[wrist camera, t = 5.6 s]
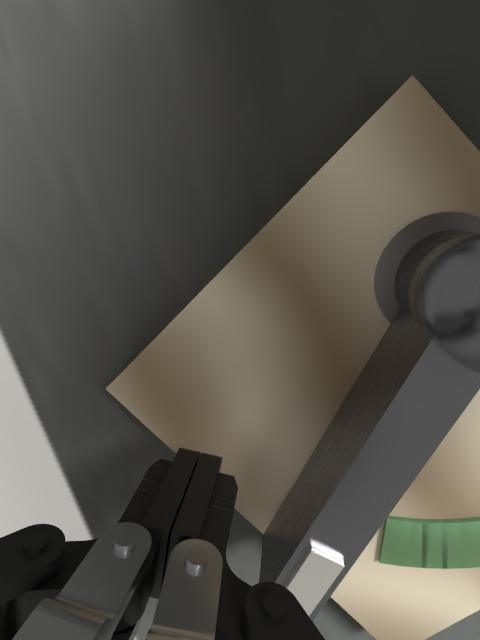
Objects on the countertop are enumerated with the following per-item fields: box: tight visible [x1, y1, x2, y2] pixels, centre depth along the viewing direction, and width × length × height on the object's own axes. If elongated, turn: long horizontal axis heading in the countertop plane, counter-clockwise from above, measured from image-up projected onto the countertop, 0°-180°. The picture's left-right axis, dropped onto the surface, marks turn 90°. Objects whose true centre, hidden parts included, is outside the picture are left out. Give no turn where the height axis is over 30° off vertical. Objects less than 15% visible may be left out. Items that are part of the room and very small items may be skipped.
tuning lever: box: [259, 230, 480, 622], centre depth 11 cm, size 12×3×4 cm, turn 155°
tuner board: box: [106, 75, 480, 640], centre depth 14 cm, size 14×16×2 cm
